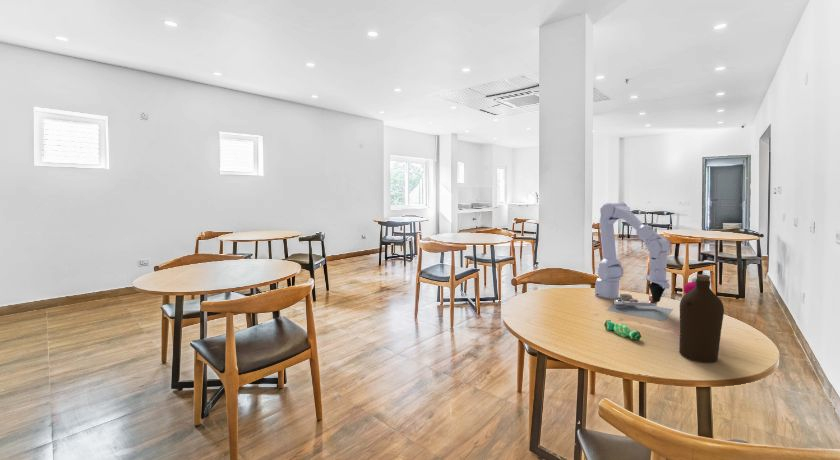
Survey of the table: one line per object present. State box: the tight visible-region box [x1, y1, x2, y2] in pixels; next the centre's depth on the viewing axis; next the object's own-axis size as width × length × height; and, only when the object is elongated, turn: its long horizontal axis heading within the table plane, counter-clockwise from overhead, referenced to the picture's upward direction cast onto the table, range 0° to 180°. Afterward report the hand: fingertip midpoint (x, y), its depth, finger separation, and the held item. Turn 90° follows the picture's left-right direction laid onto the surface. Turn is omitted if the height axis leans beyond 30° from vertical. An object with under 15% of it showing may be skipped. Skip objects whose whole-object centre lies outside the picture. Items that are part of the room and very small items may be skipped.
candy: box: [603, 319, 642, 341], centre depth 131 cm, size 12×3×4 cm
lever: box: [613, 293, 658, 307], centre depth 155 cm, size 16×4×4 cm, turn 82°
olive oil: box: [678, 273, 725, 364], centre depth 112 cm, size 11×11×25 cm
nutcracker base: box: [606, 293, 674, 322], centre depth 153 cm, size 20×18×5 cm
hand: (656, 301), depth 151 cm, fingers closed
